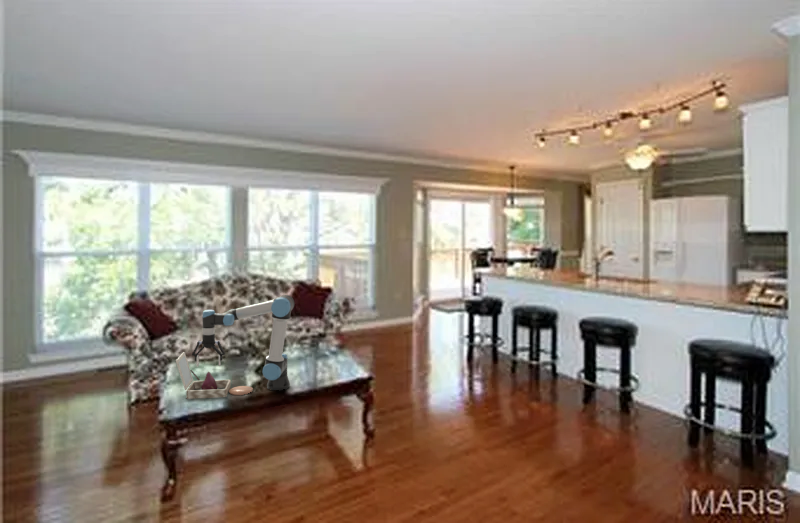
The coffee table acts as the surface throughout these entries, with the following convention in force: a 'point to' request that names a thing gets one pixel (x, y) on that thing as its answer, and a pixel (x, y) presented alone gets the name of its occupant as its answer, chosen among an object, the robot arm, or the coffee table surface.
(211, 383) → the dark red pyramid
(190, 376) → the lid
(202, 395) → the cold frame
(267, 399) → the coffee table surface
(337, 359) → the coffee table surface
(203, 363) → the coffee table surface
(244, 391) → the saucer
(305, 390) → the coffee table surface
